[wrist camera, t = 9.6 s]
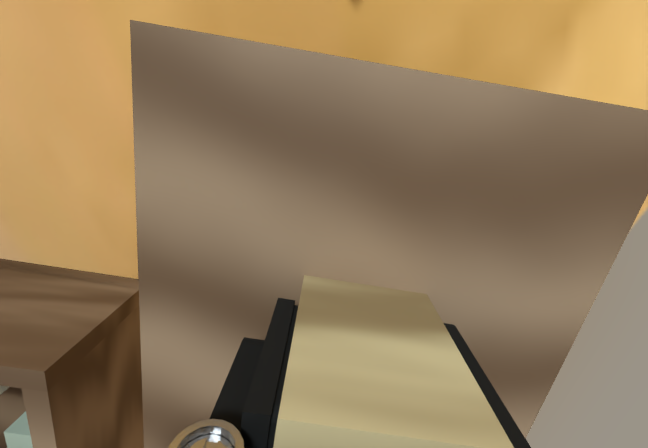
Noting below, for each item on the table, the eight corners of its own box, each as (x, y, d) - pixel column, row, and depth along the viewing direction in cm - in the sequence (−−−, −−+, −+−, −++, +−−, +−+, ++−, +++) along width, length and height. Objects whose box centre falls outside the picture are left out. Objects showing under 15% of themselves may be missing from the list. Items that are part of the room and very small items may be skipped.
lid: (173, 42, 10) (-206, -157, 3) (612, 119, 10) (1206, 103, 3) (171, 424, 15) (33, 682, 8) (463, 465, 15) (572, 745, 8)
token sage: (42, 395, 20) (3, 432, 17) (104, 403, 20) (74, 441, 18) (50, 439, 21) (14, 479, 19) (108, 446, 21) (80, 487, 19)
